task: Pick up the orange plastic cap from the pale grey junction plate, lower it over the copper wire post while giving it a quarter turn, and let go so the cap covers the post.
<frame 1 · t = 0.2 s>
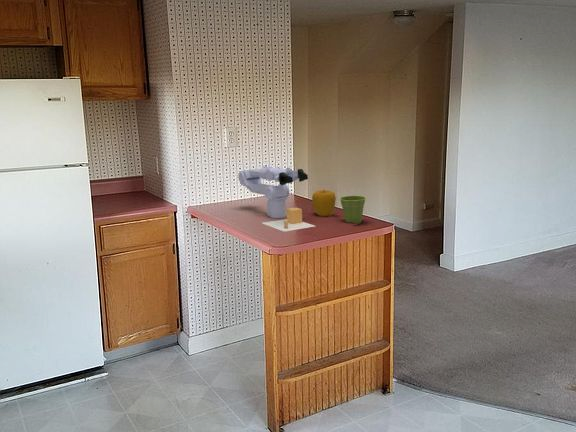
hand: (299, 178, 248), 21 cm above the worktop, tool horizontal, fingers open, 7 cm apart
plant pot: (352, 223, 256), on the worktop
orange wire cap: (294, 222, 256), point 1 cm above the worktop, touching junction plate
junction plate: (288, 226, 252), on the worktop
apple: (324, 217, 270), on the worktop
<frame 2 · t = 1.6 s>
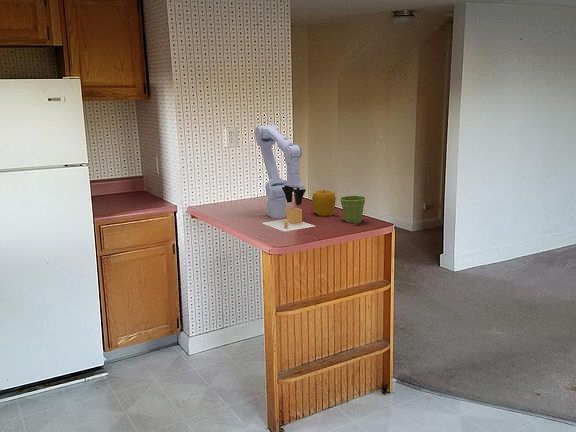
hand: (294, 203, 254), 9 cm above the worktop, tool pointing down, fingers open, 7 cm apart
nothing on the worktop moved.
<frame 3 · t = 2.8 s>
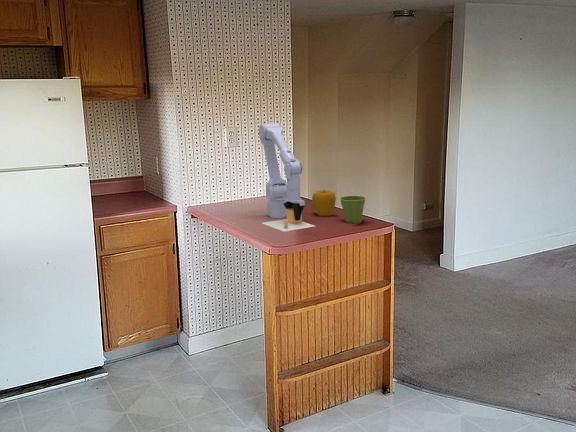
hand: (294, 219, 255), 2 cm above the worktop, tool pointing down, fingers closed on orange wire cap, 5 cm apart
orange wire cap: (294, 222, 256), point 1 cm above the worktop, touching gripper, junction plate
everything else where it was.
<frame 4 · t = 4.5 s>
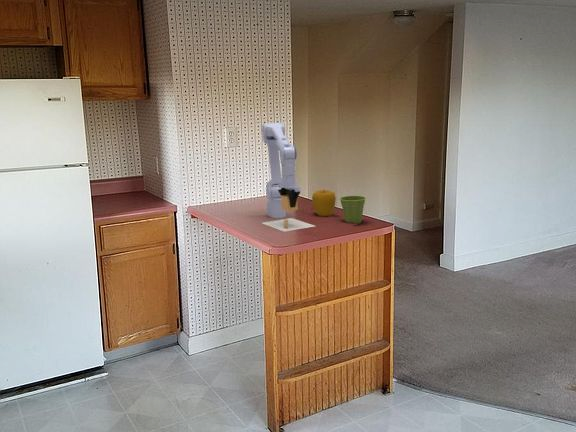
hand: (289, 206, 248), 10 cm above the worktop, tool pointing down, fingers closed on orange wire cap, 5 cm apart
orange wire cap: (289, 209, 248), point 8 cm above the worktop, touching gripper
everything else where it was.
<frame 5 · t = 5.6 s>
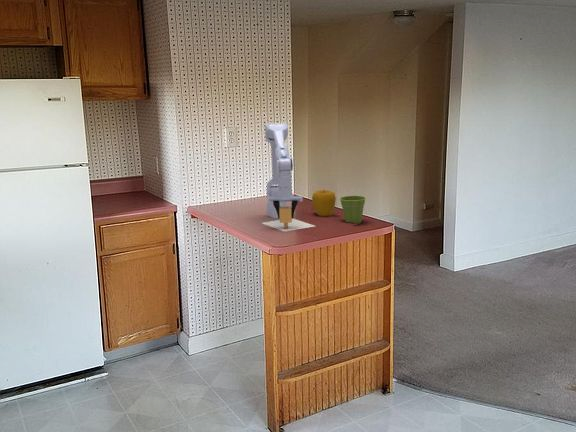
hand: (285, 218, 245), 5 cm above the worktop, tool pointing down, fingers closed on orange wire cap, 5 cm apart
orange wire cap: (286, 221, 245), point 4 cm above the worktop, touching gripper
everything else where it was.
when the fingers open (4 cm above the worktop, at t = 6.3 s): orange wire cap drops 2 cm, resting on junction plate.
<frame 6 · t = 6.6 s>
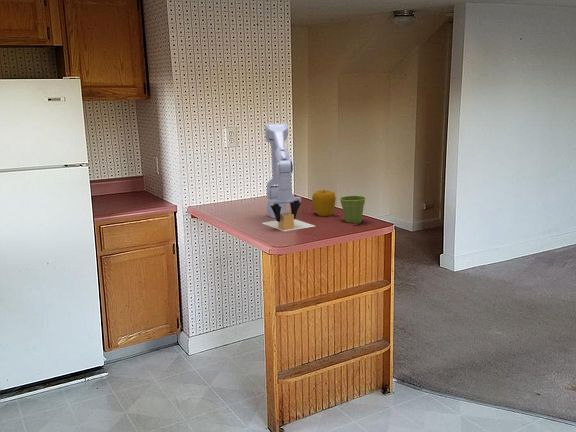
hand: (285, 220, 245), 4 cm above the worktop, tool pointing down, fingers open, 7 cm apart
orange wire cap: (286, 227, 246), point 1 cm above the worktop, touching junction plate
everything else where it was.
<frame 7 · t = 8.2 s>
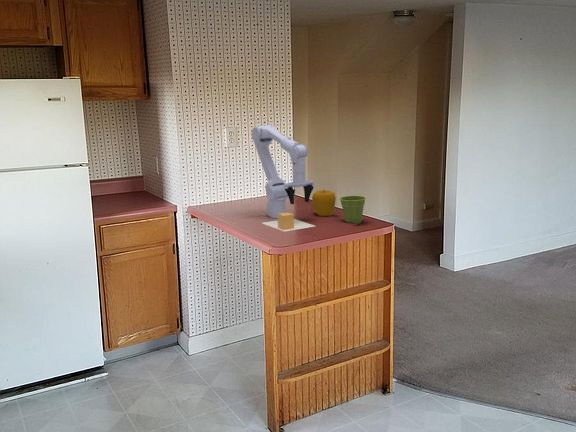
hand: (299, 202, 256), 9 cm above the worktop, tool pointing down, fingers open, 7 cm apart
nothing on the worktop moved.
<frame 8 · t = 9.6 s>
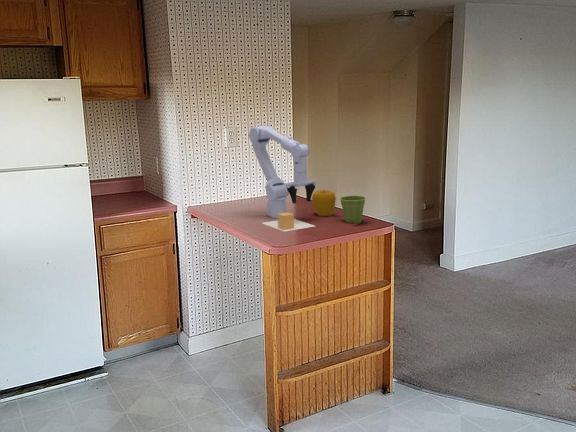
hand: (301, 202, 257), 9 cm above the worktop, tool pointing down, fingers open, 7 cm apart
nothing on the worktop moved.
at the end: orange wire cap 0.1 cm from the target spot, point 1.0 cm above the worktop; orange wire cap tilted 0°; the gripper is holding nothing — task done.
